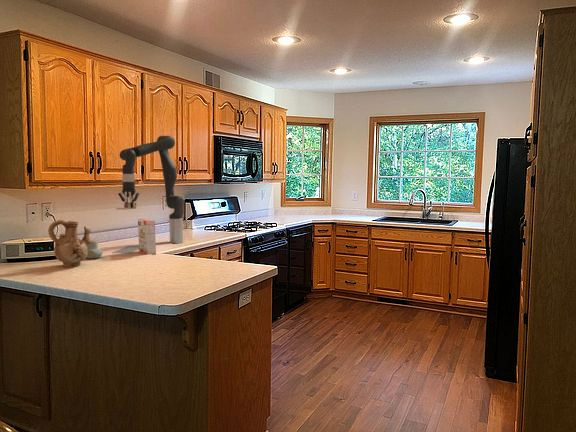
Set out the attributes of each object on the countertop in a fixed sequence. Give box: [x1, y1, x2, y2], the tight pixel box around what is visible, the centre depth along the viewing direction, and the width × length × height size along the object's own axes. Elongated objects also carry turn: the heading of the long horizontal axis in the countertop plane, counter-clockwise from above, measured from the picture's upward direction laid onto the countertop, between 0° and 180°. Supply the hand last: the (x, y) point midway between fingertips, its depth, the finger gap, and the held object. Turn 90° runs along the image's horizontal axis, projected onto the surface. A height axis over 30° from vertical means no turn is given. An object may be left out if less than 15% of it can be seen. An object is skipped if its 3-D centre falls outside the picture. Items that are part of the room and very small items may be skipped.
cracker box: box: [137, 218, 157, 255], centre depth 290 cm, size 14×6×21 cm, turn 37°
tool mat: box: [111, 245, 139, 254], centre depth 301 cm, size 28×12×1 cm, turn 178°
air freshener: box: [85, 240, 104, 260], centre depth 273 cm, size 11×8×10 cm
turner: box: [115, 201, 137, 211], centre depth 298 cm, size 22×6×4 cm, turn 177°
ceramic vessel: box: [47, 219, 95, 268], centre depth 251 cm, size 18×19×25 cm
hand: (129, 208), depth 301 cm, fingers closed on turner, 2 cm apart
